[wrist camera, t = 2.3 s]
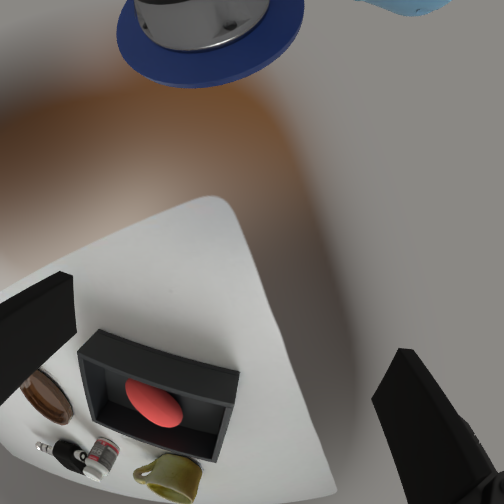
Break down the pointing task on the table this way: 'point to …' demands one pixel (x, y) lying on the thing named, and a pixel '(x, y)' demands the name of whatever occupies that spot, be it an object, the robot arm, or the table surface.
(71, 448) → the audio adapter
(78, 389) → the table surface
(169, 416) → the stress ball
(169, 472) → the mug
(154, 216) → the table surface
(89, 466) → the pill bottle
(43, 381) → the plate
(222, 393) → the bin
